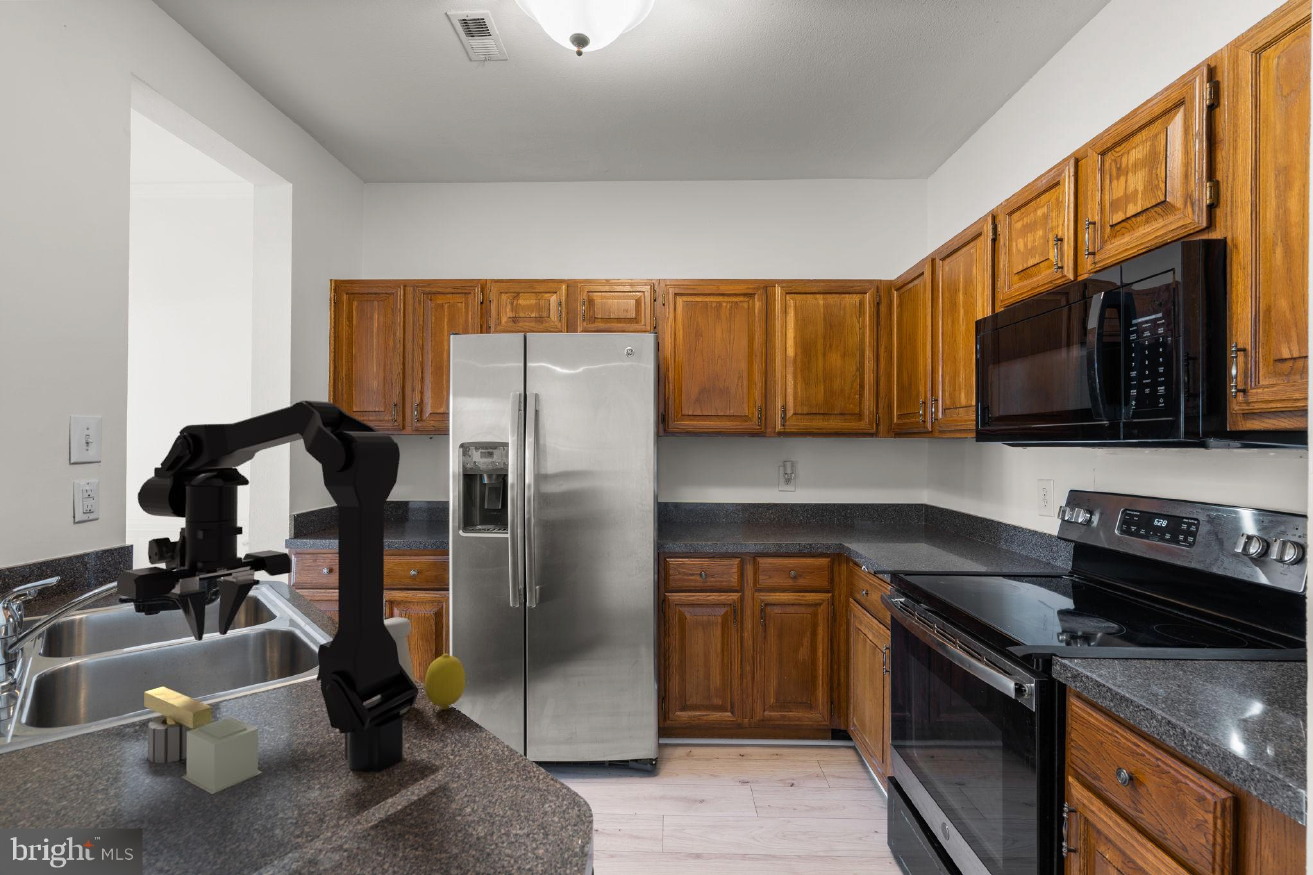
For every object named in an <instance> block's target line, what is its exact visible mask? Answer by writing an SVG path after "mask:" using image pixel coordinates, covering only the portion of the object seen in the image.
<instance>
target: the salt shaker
mask: <svg viewBox="0 0 1313 875" xmlns="http://www.w3.org/2000/svg"><path fill="white" fill-rule="evenodd" d="M384 624H385V626H386V627H387V629H388V631H389V632H390V634H391V635H392V637H393V638H394V640H395V641H396V644H397V651H398V658H399V663H400V665H401V666H402V668H403V669H404V670H405V672H406V673H407V674H408V676H409V677H410V679H411V680H412V681H413V683H414V684H415V685H416V681H415V676H414V671H413V670H414V669H413V666H412V665H413V664H412V660H411V659H412V658H411V654H410V647H409V642H408V641H409V640H408V636H409V635H410V633H411V631H412V624H411V621H410V620H409V619H408V618H406V617H402V616H401V617H400V616H399V617H397V616H396V617H390V618H387V619H384ZM379 697H381V696H380V695H378V696H376V697H374V698H372V701H374V700H376V699H377V698H379ZM410 708H411V706H409V707H407V708H406V709H404V710H402V711H400V715H402V714H406V713H407V711H408V710H409V709H410Z"/></svg>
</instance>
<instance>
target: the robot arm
mask: <svg viewBox="0 0 1313 875" xmlns="http://www.w3.org/2000/svg"><path fill="white" fill-rule="evenodd" d="M300 440H302V441H303V444H304V449H305V451H306V452H307V453H308V454H309V455H310V456H311V457H312V458H314V459H315V461H317V462H318V463H319V464H320V465H321V470H322V478H323V484H324V487H325V489H326V490H327V492H328V494H329V495H330V497H331V498H332V500H333V501H334V503H335V504H336V506H337V511H338V512H337V514H338V515H337V516H338V519H337V520H338V522H337V523H338V524H337V525H338V530H337V531H338V536H337V538H338V539H337V540H338V541H337V542H338V544H337V545H338V549H337V550H338V552H337V553H338V556H337V557H338V559H337V560H338V566H337V567H338V569H337V570H338V574H337V576H338V579H337V580H338V582H337V583H338V584H337V585H338V586H337V587H338V594H337V595H338V598H337V599H338V601H337V602H338V610H337V612H338V616H337V618H338V621H337V622H338V623H337V624H338V627H337V631H336V633H335V634H334V637H333V638H332V640H330V641H326V642H324V643H321V644H320V645H319V647H318V649H317V659H318V671H317V672H318V673H317V675H316V681H318V682H319V681H320V690H321V695H322V697H323V701H324V704H325V708H326V713H327V716H328V720H329V724H330V727H331V728H333V729H338V730H339V733H340V734H344V757H345V760H346V761H347V768H348V769H349V770H351V771H353V772H359V773H361V772H362V773H369V772H376V773H381V772H383V771H385V770H388V769H389V768H391V767H393V766H395V765H397V764H399V763H402V761H403V759H404V715H402V714H400V711H402V710H404V709H406V708H407V707H409V706H410V707H412V706H414V705H415V704H416V701H417V698H418V695H419V688H418V687H417V685H416V683H415V684H414V683H413V681H412V680H411V679H410V677H409V676H408V674H407V673H406V672H405V670H404V669H403V668H402V666H401V665H400V663H399V658H398V651H397V644H396V641H395V640H394V638H393V637H392V635H391V634H390V632H389V631H388V629H387V627H386V626H385V624H384V620H385V604H384V603H385V598H384V596H385V593H384V590H385V580H384V579H385V574H384V573H385V571H384V570H385V569H384V568H385V567H384V564H385V548H384V546H385V545H384V544H385V543H384V542H385V533H384V532H385V531H384V530H385V521H384V520H385V517H384V513H385V511H384V510H385V504H386V502H387V501H388V498H389V496H390V495H391V493H392V491H393V489H394V487H395V485H396V484H397V479H398V472H399V465H400V460H401V458H400V457H401V453H400V447H399V445H398V442H396V441H395V440H394V439H393V438H392V436H390V435H389V434H387V433H386V432H380V431H379V430H377V429H376V428H375V427H373V426H372V425H370V424H368V423H367V422H364V421H363V420H360V419H359V418H356V417H355V416H352V415H351V414H349V413H347V412H346V411H344V410H343V409H342V408H341V407H340V406H338V405H337V404H335V403H333V402H330V401H322V400H320V401H319V400H300V401H298V402H296V403H294V404H292V405H290V406H287V407H284V408H280V409H276V410H272V411H270V412H266V413H264V414H260V415H256V416H253V417H249V418H246V419H243V420H239V421H237V422H233V423H208V424H207V423H205V424H204V423H203V424H189V425H186V426H183V427H182V428H181V429H180V431H179V432H178V435H177V437H176V438H175V440H174V441H173V444H172V445H171V447H170V449H169V451H168V452H167V454H166V456H165V458H164V459H163V460H162V461H161V463H160V465H159V467H154V470H153V471H154V472H153V474H154V475H153V476H152V477H150V478H148V479H146V481H144V482H143V484H142V485H141V486H140V489H139V491H138V492H137V502H138V505H139V507H140V508H141V509H142V511H143V512H145V513H146V514H147V515H150V516H156V517H167V518H182V519H184V518H185V519H184V521H185V522H184V523H185V526H184V527H183V526H182V527H180V531H179V538H178V540H174V541H172V540H171V539H170V537H160V538H159V537H157V538H151V539H150V540H149V541H148V547H147V548H148V549H147V556H148V563H149V564H150V565H159V564H164V565H165V568H164V567H160V566H151V567H150V566H149V567H144V568H143V567H142V568H136V569H135V568H134V569H127V570H123V571H122V573H121V574H120V575H119V576H118V578H117V579H116V594H117V595H120V596H123V597H127V598H129V599H130V598H131V599H134V600H144V599H149V598H156V597H160V596H162V597H163V596H168V597H170V598H173V600H175V602H176V603H177V605H178V606H179V609H181V611H182V614H183V615H184V617H185V620H186V622H187V624H188V626H189V629H190V631H191V633H192V635H193V638H194V639H195V641H200V642H201V641H202V640H203V637H204V634H205V633H204V632H205V622H206V603H207V600H206V599H207V590H205V589H200V582H203V581H209V580H214V579H215V580H216V584H217V587H218V591H219V608H218V624H217V625H218V634H219V635H221V636H225V635H227V634H228V632H229V630H230V627H231V626H232V625H233V624H232V623H233V622H234V620H235V618H236V617H237V614H238V612H239V610H240V608H241V607H242V605H243V603H244V601H245V600H246V599H247V597H248V596H249V593H250V592H251V590H252V589H253V588H254V586H259V585H260V584H261V581H260V580H259V579H255V573H257V572H262V571H263V572H264V573H266V574H267V575H269V576H270V577H275V576H280V575H285V574H291V573H292V572H293V559H292V558H291V556H290V555H289V553H288V552H281V551H277V550H272V549H270V550H269V549H268V550H262V551H255V552H247V553H245V554H244V556H243V557H241V556H238V535H243V526H240V525H238V503H239V502H238V501H239V500H238V493H239V492H238V491H239V490H238V487H239V486H240V487H241V486H243V487H245V486H248V485H249V484H250V481H249V480H250V479H248V478H247V477H246V476H244V474H242V473H241V472H240V471H239V470H238V467H239V466H242V465H244V464H245V463H247V462H249V461H251V460H253V459H254V457H255V456H256V454H257V453H258V452H260V451H263V450H266V449H270V448H274V447H278V446H281V445H285V444H286V445H287V444H288V443H292V442H297V441H300ZM182 568H183V569H182ZM378 695H380V696H381V697H379V698H377V699H376V700H374V701H373V699H372V698H374V697H376V696H378ZM371 699H372V701H370V700H371ZM367 701H370V702H368V703H366V702H367ZM364 703H366V704H364Z"/></svg>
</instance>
